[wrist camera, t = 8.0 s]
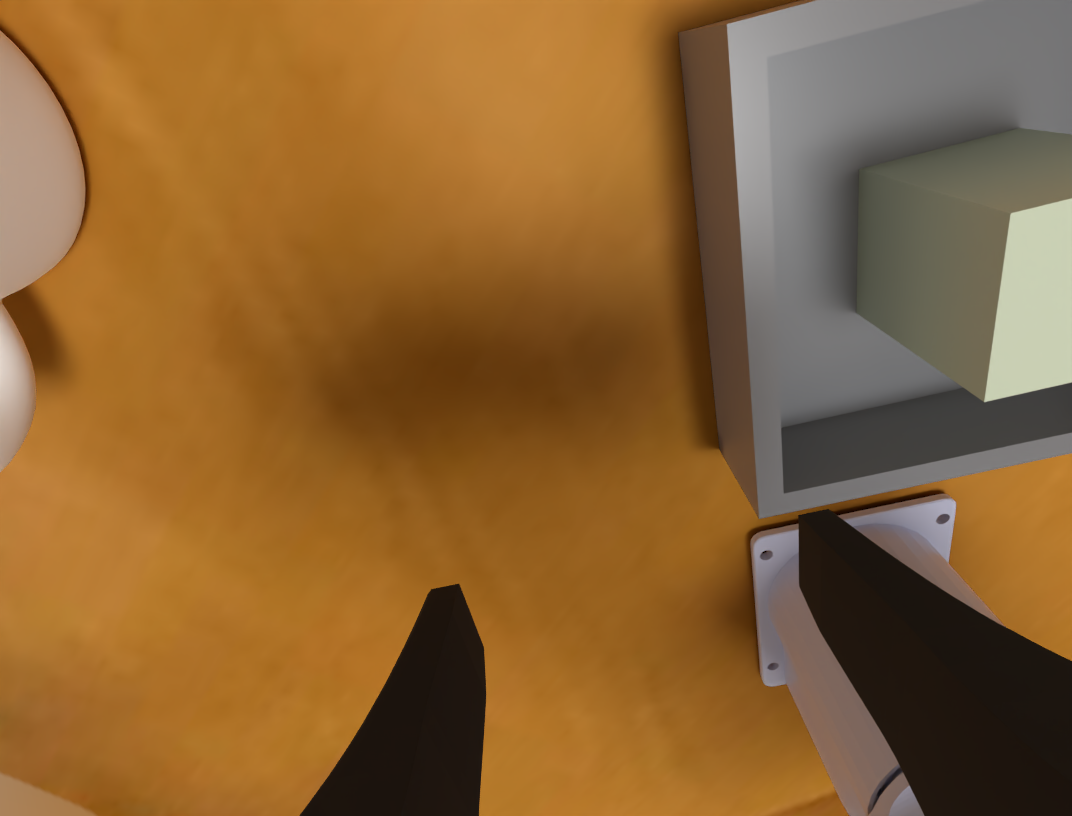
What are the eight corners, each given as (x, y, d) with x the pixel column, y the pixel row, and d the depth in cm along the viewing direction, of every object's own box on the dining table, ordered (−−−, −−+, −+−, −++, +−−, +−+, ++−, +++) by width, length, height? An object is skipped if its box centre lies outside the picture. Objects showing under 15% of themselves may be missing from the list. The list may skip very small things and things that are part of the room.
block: (999, 278, 20) (1182, 357, 14) (856, 313, 20) (984, 402, 15) (1020, 128, 17) (1244, 155, 12) (859, 169, 18) (1010, 213, 12)
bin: (1097, 367, 22) (1209, 424, 19) (719, 449, 23) (758, 518, 19) (1215, -110, 15) (1424, -161, 12) (678, 32, 16) (726, 24, 13)
